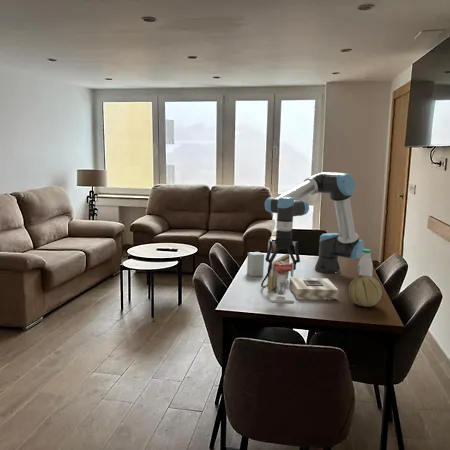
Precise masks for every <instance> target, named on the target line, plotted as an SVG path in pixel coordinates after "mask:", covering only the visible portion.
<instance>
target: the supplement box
mask: <svg viewBox="0 0 450 450" xmlns="http://www.w3.org/2000/svg"><path fill="white" fill-rule="evenodd" d="M264 262H265V254H264V253H262V252H260V251H254V252H247V261H246V263H247V268H246V269H247V270H246V274H247V275H250V276H251V277H261V276H264V268H265V263H264Z"/></svg>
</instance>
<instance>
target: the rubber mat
mask: <svg viewBox="0 0 450 450" xmlns="http://www.w3.org/2000/svg"><path fill="white" fill-rule="evenodd" d="M267 297H268V299H269V301H270V303H291V304H292V303H295V299H294V298H293V296H292V294H291V293H290V292H287V293H286V292H285V295H278V294H276V292H267Z"/></svg>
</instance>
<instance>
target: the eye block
mask: <svg viewBox="0 0 450 450" xmlns="http://www.w3.org/2000/svg"><path fill="white" fill-rule="evenodd" d="M289 288H290V290H291V291H292V293H293V295H294V296H295V298H296V299H297V300H326V299H328V300H326V301H329V300H331V301H333V300H332V299H338V300H339V289H338V288H337V287H336V286H335V284H334V283H332V281H331V280H330V279H329V278H327V277H326V278H320V277H317V278H316V277H289Z"/></svg>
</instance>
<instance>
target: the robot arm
mask: <svg viewBox="0 0 450 450" xmlns="http://www.w3.org/2000/svg"><path fill="white" fill-rule="evenodd" d="M355 186H356V182H355V179H354V177H353V176H352V175H351V174H350V173H345V172H327V171H326V172H325V171H323V172H318V173H316V174H313V175H311V176H309V177H307V178H305V179H304V180H303V182H301V183H300V184H298V185H296V186H295V187H293V188H291V189H289V190H287V191H285V192H284V193H281V194H280V195H278V196H276V197H273V196H272V197H268V198H266V199H265V201H264V210H265V211H266V212H268V213H271V214H276V227H275V228H276V231H275V239H274V240H269V241H268V248H267V252H266V255H265V258H264V261H265V262H267V263H268V266H269V269H271V277H273V266H274V263H273V261H275V258H276V256H277V255H278V253H279V251H280V250H281V251H282V250H285V251H287V252H288V254H289V257H290V258H291V263H290V264H292V270H291V271H290V278H294V271H295V270H296V269H297V263H300V262H301V259H300V254H299V253H300V252H299V247H298V246H299V242H298V241H293V231H292V230H293V224H294V217H299V216H300V217H302V216H305V215H307V214H308V213H309V210H310V205H309V203H308V202H307V200H303V199H305V198H307V197H308V196H310V195H311V196H313V195H315V194H321V193H322V194H328V195H329V198H330V200H331V201H333V204H334V210H335V217H336V221H337V225H338V226H337V227H338V229H339V230H338V231H339V233H337V232H328V233H322V234H321V235H320V236H319V245H318V246H319V248H318V258H317V260H316V263H315V265H314V270H315V271H316V272H318V271H319V273H322V272H323V273H324V274H331V273H333V274H336V273H335V272H339V271H340V272H341V265H340V262H339V257H342V258H347V259H351V260H357V259H360V258H361V257H362V249H365V242H364V241H363V239H360V236H359V234H358V233H357V232H356V229H355V228H356V227H355V223H354V222H355V221H354V217H353V211H352V205H351V199H350V198H351V197H352V195H353V194H354V192H355V189H356V187H355ZM274 245H276V247H275V248H274V251H273V253H272V250H273V246H274ZM292 245H293V246H294V247H293V248H294V253H295V257H296V258H295V257H294V253H293V251H292V250H291V246H292ZM271 253H272V254H271ZM340 272H339V273H340Z"/></svg>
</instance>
